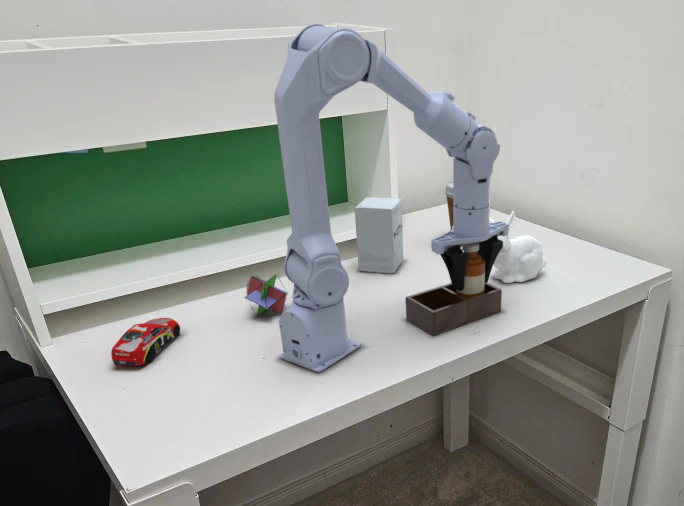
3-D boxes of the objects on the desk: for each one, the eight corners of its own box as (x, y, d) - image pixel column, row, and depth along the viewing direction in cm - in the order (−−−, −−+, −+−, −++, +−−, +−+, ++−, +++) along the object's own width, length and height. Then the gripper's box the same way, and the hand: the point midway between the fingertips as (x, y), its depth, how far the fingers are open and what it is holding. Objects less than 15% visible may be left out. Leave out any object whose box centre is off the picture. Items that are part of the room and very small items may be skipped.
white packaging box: (394, 274, 126) (391, 209, 119) (357, 271, 127) (352, 207, 121) (404, 260, 132) (402, 198, 126) (369, 257, 133) (365, 195, 127)
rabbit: (497, 288, 120) (499, 224, 114) (474, 270, 128) (476, 209, 121) (554, 277, 125) (559, 215, 118) (529, 261, 132) (533, 201, 126)
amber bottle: (474, 309, 109) (475, 250, 103) (450, 303, 111) (450, 245, 106) (489, 299, 112) (491, 242, 107) (465, 293, 114) (465, 236, 109)
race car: (156, 328, 107) (150, 305, 105) (187, 330, 106) (182, 308, 104) (106, 368, 96) (99, 344, 94) (141, 371, 95) (134, 347, 93)
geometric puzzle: (305, 296, 112) (275, 258, 110) (285, 313, 106) (252, 272, 104) (279, 315, 116) (249, 278, 114) (258, 332, 110) (226, 293, 108)
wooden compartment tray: (433, 336, 104) (432, 312, 102) (406, 319, 109) (405, 297, 107) (501, 311, 112) (501, 289, 110) (472, 297, 117) (473, 275, 115)
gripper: (489, 190, 110) (487, 267, 117) (419, 206, 102) (421, 287, 109) (518, 200, 105) (514, 279, 112) (446, 218, 97) (447, 302, 104)
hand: (470, 284), depth 110 cm, fingers closed on amber bottle, 5 cm apart
